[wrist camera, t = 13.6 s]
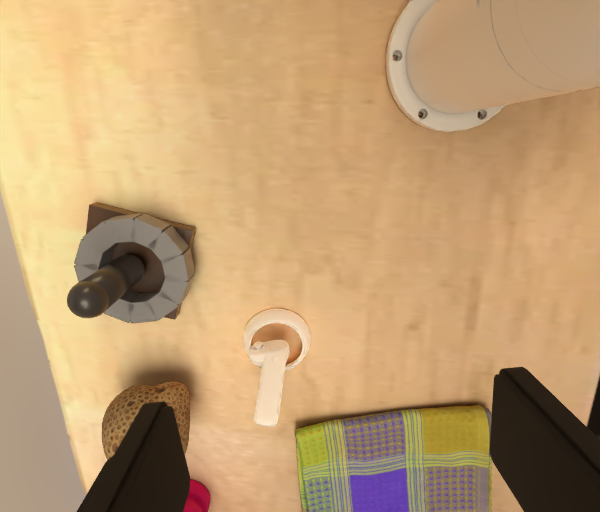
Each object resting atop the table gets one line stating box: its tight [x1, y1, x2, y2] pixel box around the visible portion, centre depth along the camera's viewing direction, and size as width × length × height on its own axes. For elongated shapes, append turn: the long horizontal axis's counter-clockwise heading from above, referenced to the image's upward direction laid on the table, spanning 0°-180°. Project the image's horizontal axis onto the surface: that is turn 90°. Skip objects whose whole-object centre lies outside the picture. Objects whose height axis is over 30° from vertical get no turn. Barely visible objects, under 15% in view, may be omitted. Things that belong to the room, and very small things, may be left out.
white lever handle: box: [243, 308, 311, 427], centre depth 39 cm, size 8×12×7 cm
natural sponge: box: [102, 381, 190, 460], centre depth 38 cm, size 9×9×10 cm
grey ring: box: [74, 213, 195, 323], centre depth 36 cm, size 10×10×2 cm
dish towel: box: [295, 405, 492, 512], centre depth 46 cm, size 18×24×3 cm
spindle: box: [67, 203, 196, 319], centre depth 33 cm, size 10×10×12 cm
